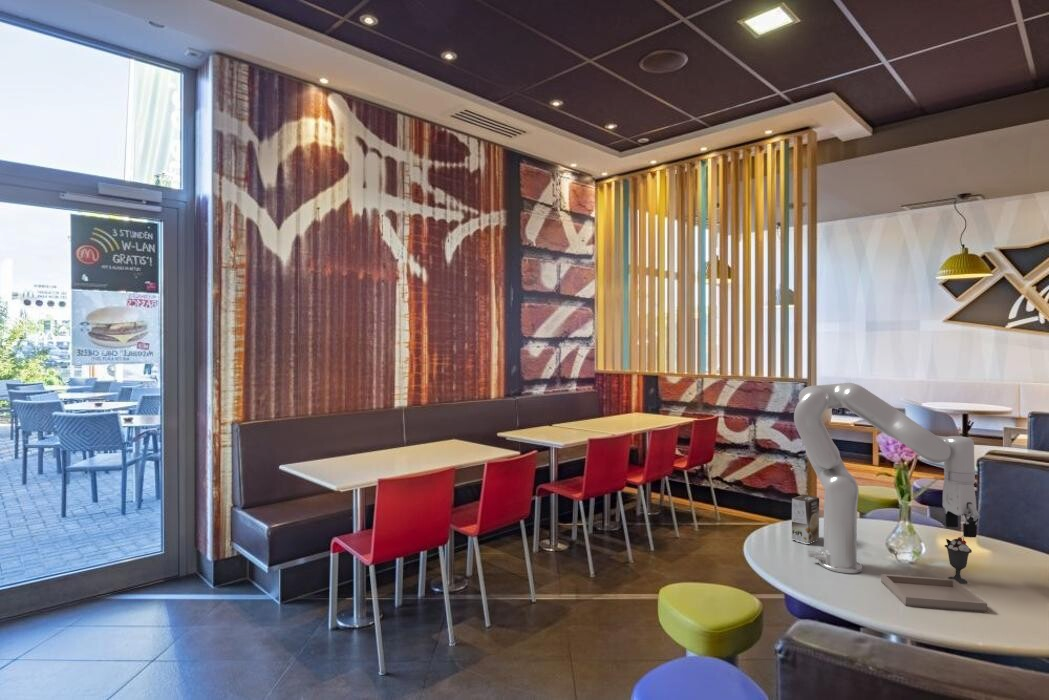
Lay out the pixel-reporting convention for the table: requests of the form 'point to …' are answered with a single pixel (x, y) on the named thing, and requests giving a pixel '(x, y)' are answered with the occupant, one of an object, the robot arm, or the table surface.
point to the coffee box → (805, 518)
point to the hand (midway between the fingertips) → (960, 531)
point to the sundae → (958, 557)
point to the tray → (933, 593)
